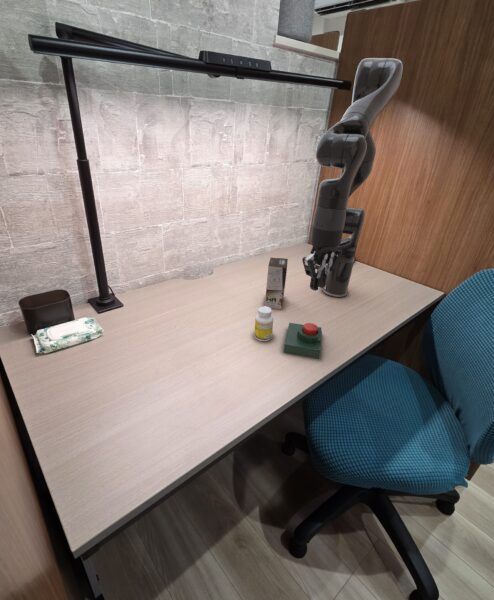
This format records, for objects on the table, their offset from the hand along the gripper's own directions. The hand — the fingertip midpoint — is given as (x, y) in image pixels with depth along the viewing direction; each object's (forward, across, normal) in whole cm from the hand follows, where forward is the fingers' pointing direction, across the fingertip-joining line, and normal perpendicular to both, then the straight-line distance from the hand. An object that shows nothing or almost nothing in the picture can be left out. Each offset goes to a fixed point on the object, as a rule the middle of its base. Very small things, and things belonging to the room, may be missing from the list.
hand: (317, 287), depth 86 cm
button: (+14, 0, 0) cm, 14 cm away
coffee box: (+19, +10, +25) cm, 33 cm away
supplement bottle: (+19, -8, +11) cm, 24 cm away
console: (+19, -1, +1) cm, 19 cm away
